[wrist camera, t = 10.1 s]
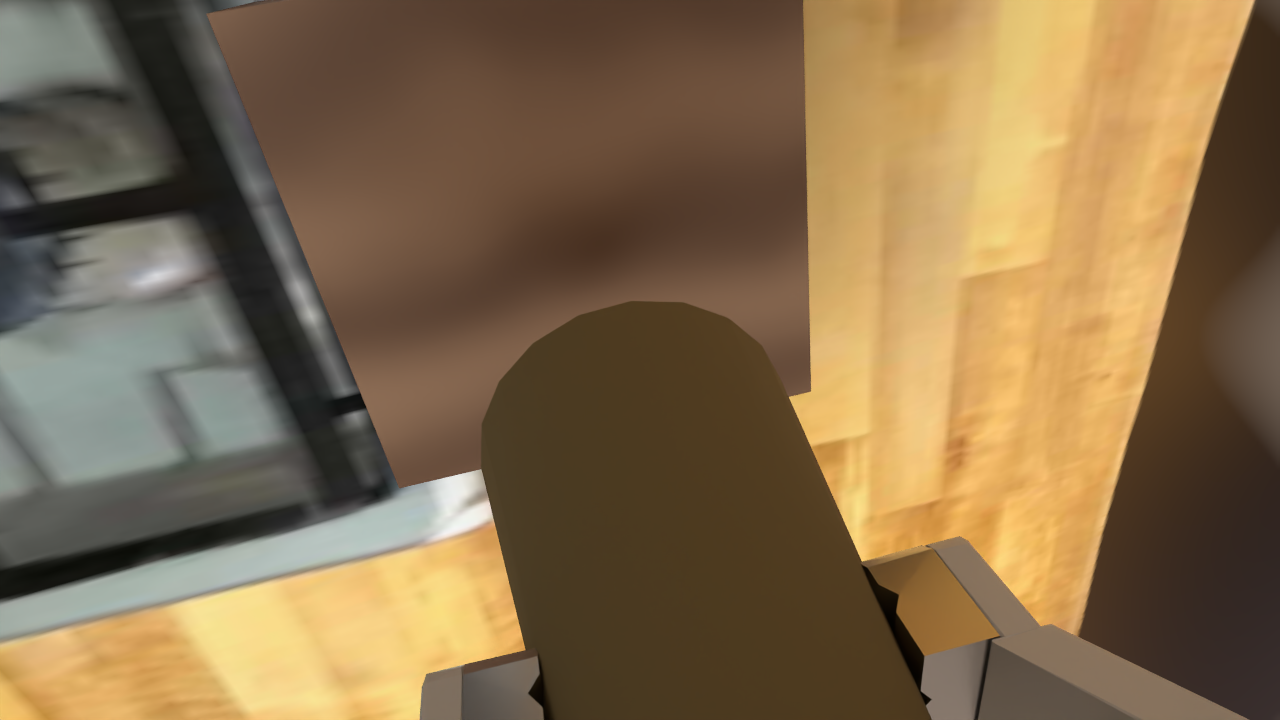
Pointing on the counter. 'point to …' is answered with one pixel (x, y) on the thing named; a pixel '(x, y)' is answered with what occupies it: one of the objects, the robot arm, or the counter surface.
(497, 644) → the counter surface
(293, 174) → the block
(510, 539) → the brown tall round piece
